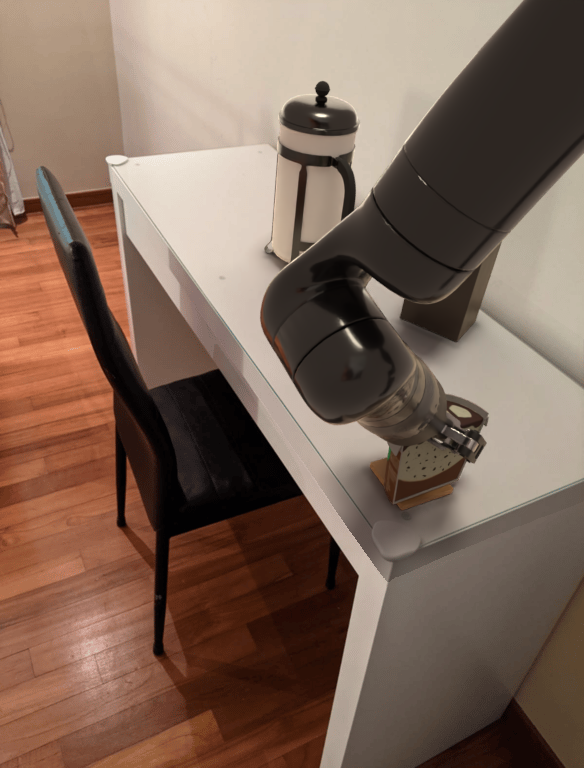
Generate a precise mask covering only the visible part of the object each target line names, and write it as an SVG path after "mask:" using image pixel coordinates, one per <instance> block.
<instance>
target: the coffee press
mask: <svg viewBox="0 0 584 768" xmlns="http://www.w3.org/2000/svg"><path fill="white" fill-rule="evenodd" d="M314 90H315V93H305V94H299V95H296V96H292V97H291V98H289V99H288V100H287V101H286V102H285V103H284V104H283V106H282V108H281V109H280V110H279V111H278V113H277V114H278V115H277V119H278V122H279V135H278V137H277V145H276V152H277V155H276V169H275V182H274V197H273V210H272V222H271V223H272V225H271V236H270V241H268V242H267V244H266V245H265V246H264V252H265V253H266V254H273V253H274V254H275V255H276V256H277V257H278V258H279V259H281V260H282V261H284V262H286V263H288V264H289V263H290V262H292V261H293V260H294V259H296V258H297V257H298V256H300V255H301V254H302V253H304V252H305V251H306V250H307V249H309V248H310V247H311V246H312V245H314V244H315V243H316V242H317V241H319V240H320V239H321V238H322V237H323V236H324V235H325V234H327V233H328V232H329V231H330V230H331V229H332V228H334V227H335V226H336V225H337V224H338V223H339V222H341V221H342V220H343V219H344V218H345V217H347V216H348V215H349V214H350V213H352V212H353V211H354V210H355V207H356V198H357V184H356V183H357V182H356V178H355V177H356V176H355V174H354V171H353V165H354V157H355V154H356V153H355V152H356V144H355V142H356V136H357V132H358V131H359V130H360V127H361V120H360V119H359V117H358V113H357V111H356V109H355V108H354V106H353V105H352V104H351V103H349V101H346V100H344V99H341V98H340V97H337V96H333V95H332V96H331V95H329V93H330V92H331V87H330V84H329V83H328V82H327V81H325V80H321V81H318V82H317V83H316V84H315V87H314ZM270 243H271V249H270V248H269V247H268V246H269V245H270Z"/></svg>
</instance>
